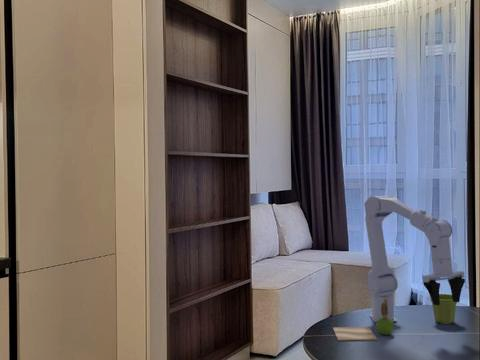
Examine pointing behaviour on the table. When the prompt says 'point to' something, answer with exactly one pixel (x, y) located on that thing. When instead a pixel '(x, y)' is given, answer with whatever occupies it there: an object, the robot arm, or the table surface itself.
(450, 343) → the table surface
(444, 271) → the robot arm
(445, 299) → the plant pot
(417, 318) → the table surface
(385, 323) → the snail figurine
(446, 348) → the table surface
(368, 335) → the cork mat
